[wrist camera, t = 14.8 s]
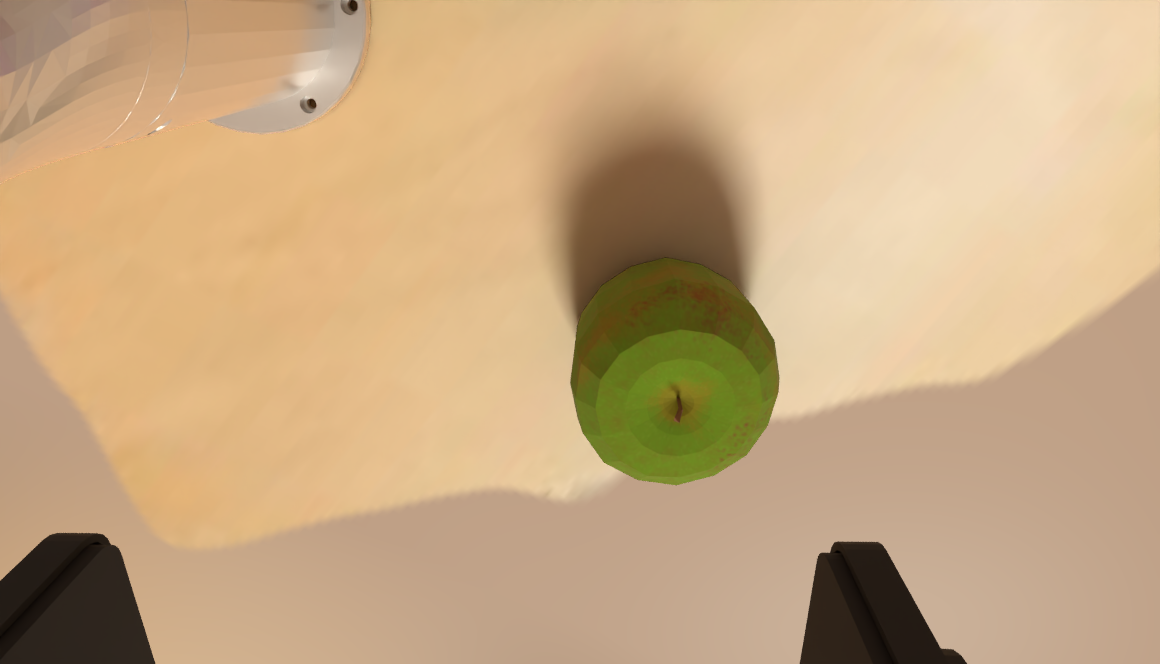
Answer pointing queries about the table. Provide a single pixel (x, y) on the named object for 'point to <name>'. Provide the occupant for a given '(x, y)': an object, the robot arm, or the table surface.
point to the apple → (672, 372)
